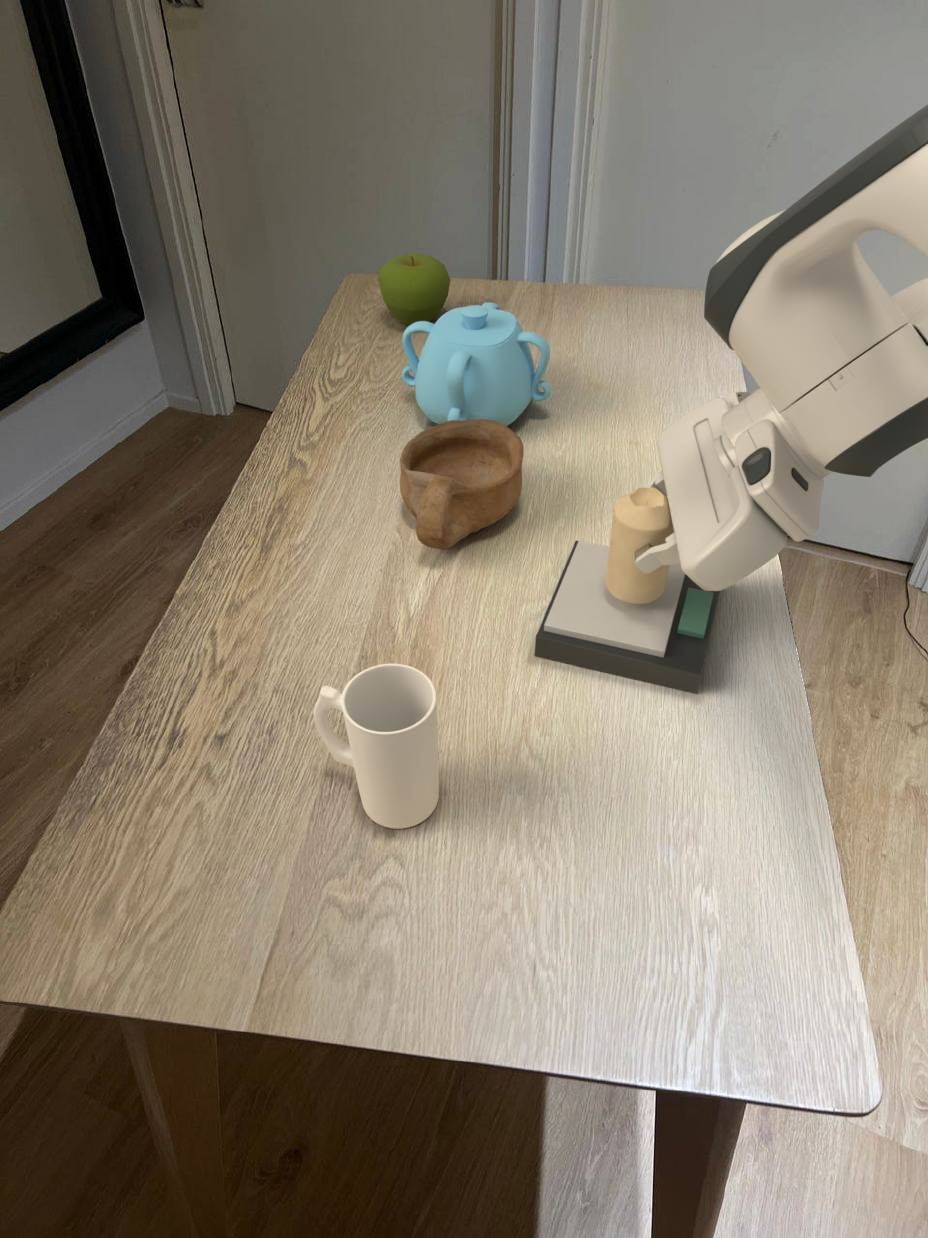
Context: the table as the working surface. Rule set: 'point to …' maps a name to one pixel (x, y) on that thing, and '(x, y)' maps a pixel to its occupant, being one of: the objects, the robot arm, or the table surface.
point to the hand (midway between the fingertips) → (635, 540)
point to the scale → (627, 625)
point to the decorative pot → (475, 366)
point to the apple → (414, 287)
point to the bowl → (460, 478)
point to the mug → (387, 741)
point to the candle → (637, 545)
